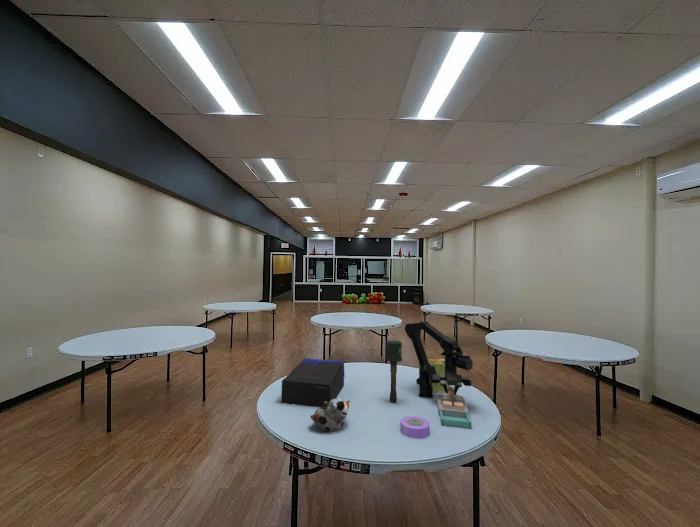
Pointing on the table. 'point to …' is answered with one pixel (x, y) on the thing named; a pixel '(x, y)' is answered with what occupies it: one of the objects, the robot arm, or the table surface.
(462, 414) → the board
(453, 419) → the tray
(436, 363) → the protein box
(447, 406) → the tile
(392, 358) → the potato masher grenade
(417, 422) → the masking tape
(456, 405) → the tile
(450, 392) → the tan stepped block
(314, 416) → the lucky cat figurine
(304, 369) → the headphone box
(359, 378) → the table surface
